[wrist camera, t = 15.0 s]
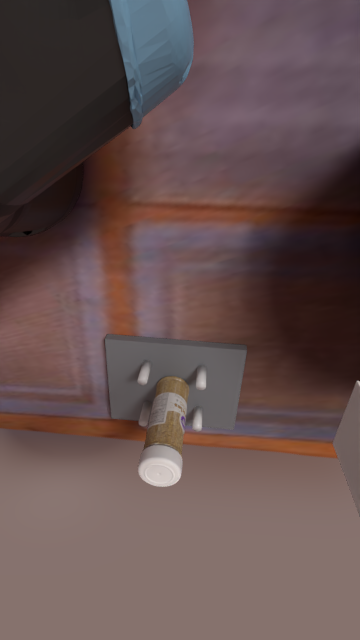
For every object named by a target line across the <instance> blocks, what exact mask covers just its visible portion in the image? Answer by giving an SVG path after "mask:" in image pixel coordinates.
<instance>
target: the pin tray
mask: <svg viewBox="0 0 360 640" xmlns="http://www.w3.org/2000/svg"><path fill="white" fill-rule="evenodd" d="M105 348H106V360H107V372H108V384H109V396H110V408H111V418H113V419H123V420H134V421H139V425H140V426H147V424H148V422H149V420H150V415H151V411H152V406H153V402H154V399H155V395H156V387H157V383H158V382H159V381H160V380H161V379H163V378H164V377H168V376H176V377H179V378H181V379H183V380H184V381H185V382H186V383H187V384H188V386H189V395H188V399H187V412H186V421H185V425H188V426H193V430H194V431H200V430H201V429H202V427H210V428H221V429H232V430H234V425H235V419H236V413H237V407H238V401H239V395H240V389H241V383H242V378H243V372H244V366H245V360H246V354H247V347H246V345H239V344H226V343H214V342H201V341H189V340H176V339H164V338H151V337H139V336H126V335H113V334H107V336H106V338H105Z"/></svg>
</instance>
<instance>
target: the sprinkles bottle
mask: <svg viewBox="0 0 360 640" xmlns="http://www.w3.org/2000/svg"><path fill="white" fill-rule="evenodd" d="M188 395H189V386H188V384H187V383H186V382H185V381H184V380H183V379H181V378H179V377H176V376H168V377H164V378H163V379H161V380H160V381H159V382H158V383H157V387H156V395H155V399H154V402H153V406H152V411H151V415H150V420H149V424H148V429H147V435H146V440H145V445H144V449H143V452H142V453H141V456H140V460H139V466H138V473H139V475H140V477H141V478H142V479H143V480H144V481H145V482H147V483H149V484H151V485H154V486H159V487H166V486H171V485H173V484H175V483H176V482H178V480H179V479H180V477H181V472H182V463H183V462H182V455H181V454H182V453H181V452H182V444H183V435H184V430H185V421H186V412H187V399H188Z"/></svg>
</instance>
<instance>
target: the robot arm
mask: <svg viewBox="0 0 360 640" xmlns="http://www.w3.org/2000/svg"><path fill="white" fill-rule="evenodd" d="M193 47H194V39H193V30H192V23H191V17H190V12H189V7H188V3H187V0H0V236H11V237H24V236H31V235H35V234H38V233H41V232H43V231H46V230H48V229H49V228H51V227H52V226H54V225H56V224H57V223H59V222H60V221H61V220H63V219H64V218H65V217H66V216H67V215H68V214H69V212H70V211H71V210H72V208H73V207H74V205H75V203H76V201H77V199H78V197H79V194H80V191H81V187H82V181H83V161H85V160H86V159H87V158H89V157H90V156H91V155H93V154H94V153H95V152H97V151H98V150H99V149H101V148H102V147H103V146H105V145H106V144H107V143H109V142H110V141H111V140H113V139H114V138H115V137H117V136H118V135H119V134H121V133H122V132H123V131H125V130H126V129H127V128H129V127H130V126H131V127H132V128H133V129H136V128H137V127H138V126H139V125H140V124H141V122H142V118H143V117H144V116H145V115H146V114H148V113H149V112H150V111H151V110H152V109H154V108H155V107H156V106H157V105H159V104H160V103H161V102H162V101H163V100H165V99H166V98H167V97H168V96H170V95H171V94H172V93H173V92H174V91H176V90H177V89H178V88H179V87H180V86H181V85H182V83H183V82H184V81H185V79H186V77H187V76H188V73H189V70H190V67H191V63H192V60H193ZM333 446H334V448H335V451H336V454H337V457H338V459H339V462H340V465H341V467H342V470H343V472H344V475H345V478H346V481H347V483H348V486H349V489H350V491H351V494H352V497H353V499H354V502H355V505H356V507H357V510H358V513H359V516H360V381H356V384H355V387H354V389H353V392H352V394H351V397H350V400H349V402H348V405H347V407H346V410H345V413H344V415H343V418H342V420H341V423H340V426H339V428H338V431H337V433H336V436H335V439H334V441H333Z"/></svg>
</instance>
